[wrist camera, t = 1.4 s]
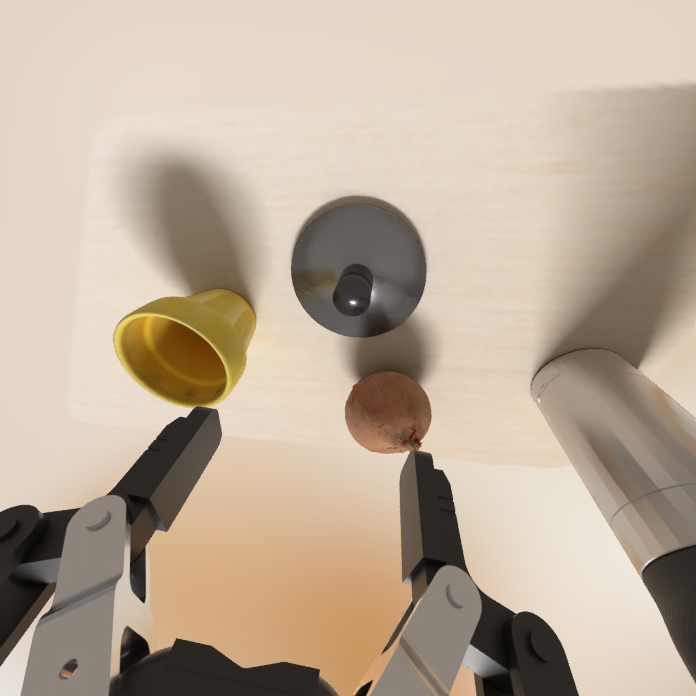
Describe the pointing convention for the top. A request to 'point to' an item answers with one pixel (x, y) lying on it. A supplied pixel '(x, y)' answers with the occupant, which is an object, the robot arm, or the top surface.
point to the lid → (358, 270)
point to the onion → (388, 413)
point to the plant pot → (187, 346)
